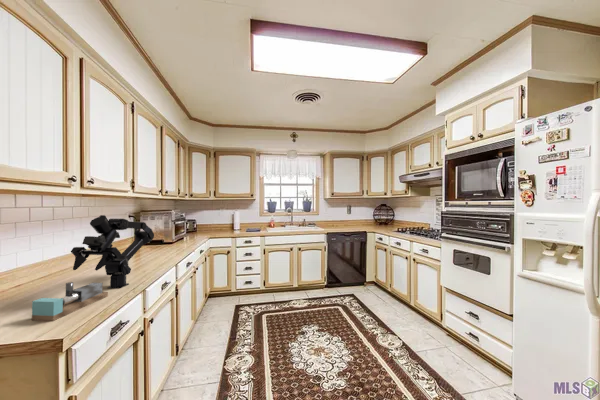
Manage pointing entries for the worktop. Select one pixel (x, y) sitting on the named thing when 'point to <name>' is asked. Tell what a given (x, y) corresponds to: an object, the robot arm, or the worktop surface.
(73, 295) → the slip tube
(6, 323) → the worktop surface
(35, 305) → the socket block
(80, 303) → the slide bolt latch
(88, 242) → the robot arm
